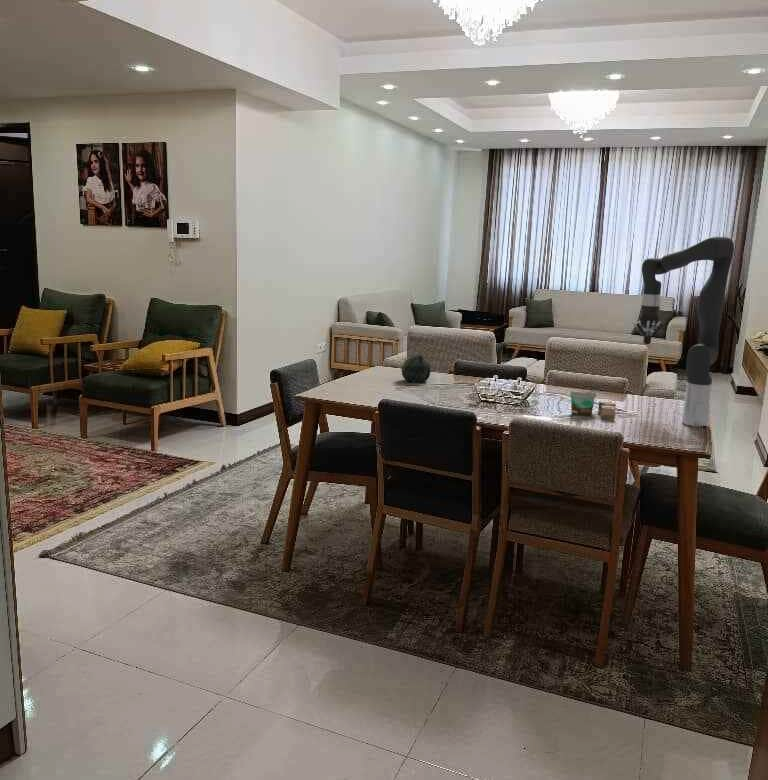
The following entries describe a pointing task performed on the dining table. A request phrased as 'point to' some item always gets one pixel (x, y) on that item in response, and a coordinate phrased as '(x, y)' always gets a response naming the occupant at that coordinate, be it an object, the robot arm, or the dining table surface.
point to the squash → (416, 369)
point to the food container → (582, 402)
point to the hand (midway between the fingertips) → (646, 344)
